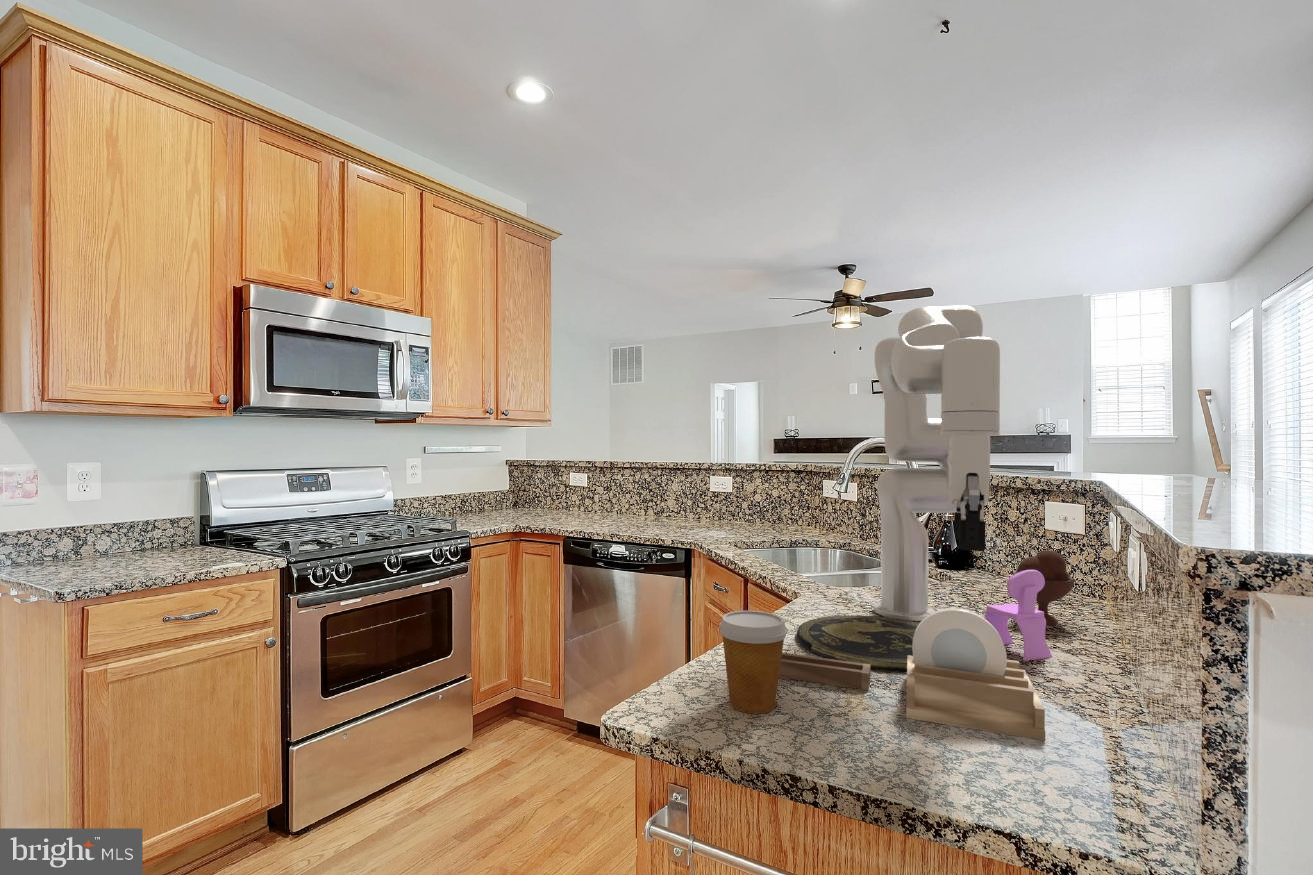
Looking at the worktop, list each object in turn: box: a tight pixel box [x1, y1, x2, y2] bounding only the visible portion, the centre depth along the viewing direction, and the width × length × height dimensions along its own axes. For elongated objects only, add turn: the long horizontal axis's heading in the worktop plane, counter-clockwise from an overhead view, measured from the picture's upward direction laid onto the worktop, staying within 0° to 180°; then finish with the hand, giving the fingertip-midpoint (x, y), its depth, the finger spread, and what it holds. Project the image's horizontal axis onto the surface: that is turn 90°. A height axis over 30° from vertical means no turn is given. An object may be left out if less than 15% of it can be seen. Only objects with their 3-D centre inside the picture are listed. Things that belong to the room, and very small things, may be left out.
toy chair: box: [984, 570, 1053, 661], centre depth 112 cm, size 8×9×15 cm
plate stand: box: [779, 652, 871, 691], centre depth 98 cm, size 4×15×2 cm, turn 68°
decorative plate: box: [796, 614, 920, 674], centre depth 115 cm, size 30×2×30 cm
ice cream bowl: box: [1012, 549, 1076, 626], centre depth 131 cm, size 11×11×15 cm
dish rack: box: [905, 655, 1046, 741], centre depth 88 cm, size 16×16×5 cm
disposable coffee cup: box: [718, 610, 789, 715], centre depth 87 cm, size 10×10×12 cm
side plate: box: [912, 607, 1008, 676], centre depth 88 cm, size 2×12×12 cm
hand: (969, 544), depth 89 cm, fingers open, 9 cm apart
